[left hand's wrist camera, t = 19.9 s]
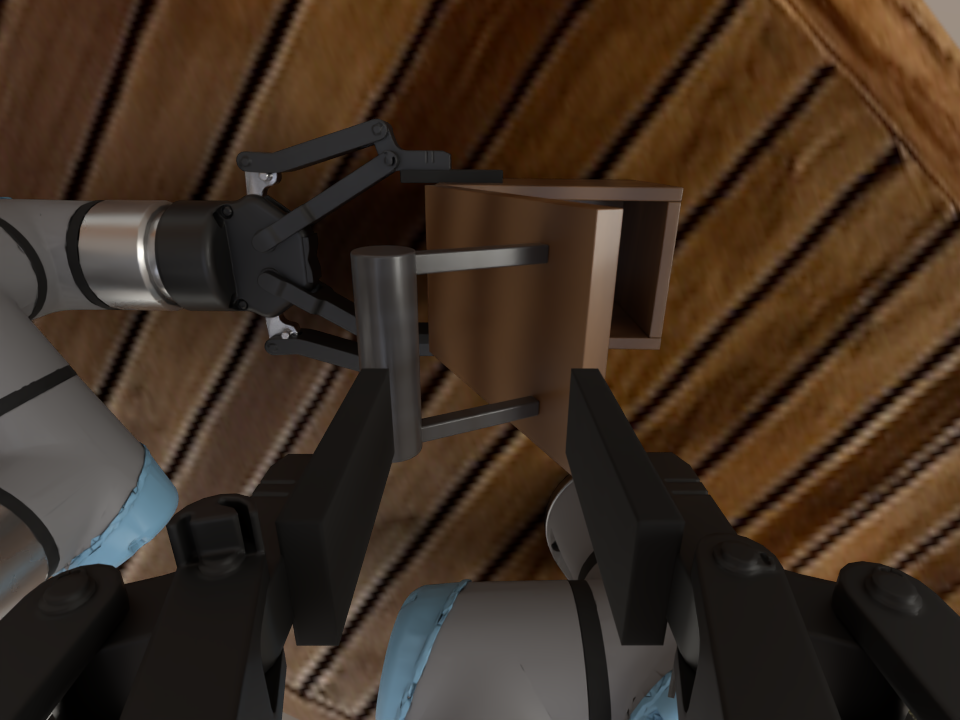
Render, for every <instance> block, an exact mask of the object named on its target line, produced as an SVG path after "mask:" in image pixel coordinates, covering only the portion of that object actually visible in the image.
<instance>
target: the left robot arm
mask: <svg viewBox="0 0 960 720" xmlns="http://www.w3.org/2000/svg"><path fill="white" fill-rule="evenodd" d="M394 453H395V450H394V436H393V421H392V407H391V392H390V378H389V368H362V369H361V371H360V372H359V374H358V376H357V378H356V379H355V381H354V383H353V385H352V387H351V388H350V390H349V392H348V394H347V395H346V397H345V399H344V401H343V402H342V404H341V406H340V408H339V409H338V411H337V413H336V415H335V417H334V418H333V420H332V422H331V424H330V425H329V427H328V429H327V431H326V432H325V434H324V436H323V438H322V439H321V441H320V443H319V445H318V447H317V448H316V450H315V452H314V454H288V455H286V456H285V457H284V458H282V459H281V460H279V461H278V462H276V463H275V464H274V465H272V466H271V467H270V468H269V470H268V471H267V473H266V474H265V476H264V477H263V479H262V480H261V484H259V485H258V486H257V487H256V489H255V490H254V492H253V495H252V496H250V497H248V496H244V495H240V494H219V495H215V496H211V497H207V498H203V499H201V500H199V501H196V502H194V503H192V504H190V505H187V506H186V507H185V508H183V509H182V510H180V511H179V512H178V513H176V514H175V515H174V516H173V517H172V519H171V520H170V521H169V522H168V524H167V525H166V528H167V531H168V535H169V539H170V542H171V546H172V550H173V553H174V557H175V561H176V565H177V570H176V572H173V573H170V574H166V575H163V576H159V577H154V578H150V579H145V580H141V581H136V582H132V583H128V584H124V582H123V579H122V576H121V573H120V571H119V570H117V569H116V568H115V567H114V566H113V565H106V564H100V563H98V564H91V565H83V566H79V567H76V568H73V569H70V570H67V571H64V572H61V573H59V574H57V575H55V576H54V577H52V578H50V579H48V580H46V581H44V582H42V583H41V584H39V585H38V586H37V587H36V588H34V589H33V590H32V591H31V592H29V593H28V594H27V595H25V596H24V597H23V598H22V599H21V600H20V601H19V602H18V603H17V604H16V605H15V606H14V607H13V608H12V609H11V610H10V611H9V612H8V613H7V614H6V615H5V616H4V617H3V618H2V619H1V620H0V720H46V719H47V718H48V716H49V715H50V714H51V712H52V713H53V714H52V715H51V716H50V718H49V719H48V720H282V711H283V700H284V689H285V678H286V667H287V666H286V659H285V653H284V648H283V646H284V644H285V641H286V639H287V636H288V634H289V631H290V629H291V626H292V624H293V628H294V634H295V639H296V645H297V646H339V642H340V639H341V635H342V632H343V629H344V625H345V622H346V618H347V615H348V611H349V608H350V605H351V601H352V598H353V594H354V591H355V587H356V584H357V580H358V577H359V574H360V570H361V567H362V563H363V560H364V556H365V553H366V550H367V546H368V543H369V539H370V536H371V532H372V529H373V526H374V522H375V519H376V515H377V512H378V508H379V505H380V502H381V498H382V495H383V491H384V488H385V484H386V481H387V477H388V474H389V471H390V467H391V464H392V460H393V457H394ZM565 453H566V457H567V460H568V464H569V467H570V471H571V474H572V476H571V475H570V474H569V475H568V476H567V477H566V478H564V479H563V481H562V482H561V483H560V484H559V485H558V486H557V488H556V489H555V490H554V492H553V494H552V495H551V497H550V499H549V502H548V504H547V507H546V512H545V532H546V538H547V542H548V546H549V548H550V551H551V553H552V556H553V558H554V560H555V561H556V563H557V564H558V566H559V567H560V569H561V570H562V572H563V573H564V575H565V576H566V577H567V579H568V580H537V581H493V582H472V581H471V580H469V579H465V580H462V581H461V582H457V583H445V584H433V585H425V586H422V587H420V588H418V589H416V590H415V591H413V592H412V593H411V594H410V595H409V596H408V598H407V599H406V600H405V602H404V604H403V605H402V607H401V610H400V612H399V614H398V616H397V619H396V621H395V624H394V627H393V630H392V633H391V637H390V641H389V644H388V648H387V652H386V656H385V661H384V666H383V670H382V675H381V681H380V687H379V693H378V700H377V708H376V720H914V719H913V717H912V716H911V715H910V713H909V712H908V711H909V710H910V711H911V713H912V714H913V715H914V717H915V718H916V719H917V720H960V617H959V616H958V615H957V614H956V613H955V612H954V611H953V610H952V609H951V608H950V607H949V606H948V605H947V604H946V603H945V602H944V601H943V600H942V599H941V598H940V597H939V596H938V595H937V594H936V593H935V592H933V591H932V590H931V589H929V588H928V587H927V586H926V585H924V584H923V583H922V582H920V581H919V580H917V579H915V578H913V577H911V576H909V575H908V574H906V573H904V572H902V571H900V570H897V569H894V568H892V567H889V566H885V565H882V564H878V563H871V562H864V561H860V562H854V563H848V564H847V565H846V566H844V567H843V568H842V569H841V570H840V573H839V576H838V579H837V582H833V581H829V580H824V579H820V578H815V577H811V576H806V575H802V574H798V573H794V572H791V571H787V570H784V569H783V567H782V565H781V564H780V562H779V561H778V559H777V558H776V556H775V555H774V554H773V553H771V552H770V551H769V550H768V549H766V548H765V547H764V546H763V545H761V544H759V543H757V542H755V541H753V540H751V539H749V538H747V537H743V536H739V535H737V533H736V532H735V530H734V529H733V528H732V526H731V525H730V523H729V522H728V520H727V519H726V517H725V516H724V514H723V513H722V512H721V510H720V509H719V507H718V506H717V504H716V503H715V501H714V500H713V498H712V497H711V496H710V495H708V491H707V490H706V488H705V487H704V485H703V484H702V482H700V481H699V480H700V479H699V478H698V477H697V475H696V474H695V472H694V471H693V469H692V468H691V466H690V465H689V464H687V463H686V462H685V461H683V460H682V459H680V458H679V457H678V456H676V455H675V454H673V453H672V452H645V450H644V448H643V447H642V445H641V443H640V441H639V439H638V438H637V436H636V434H635V432H634V431H633V429H632V427H631V425H630V424H629V422H628V420H627V418H626V417H625V415H624V413H623V411H622V409H621V408H620V406H619V404H618V402H617V401H616V399H615V397H614V395H613V394H612V392H611V390H610V388H609V387H608V385H607V383H606V381H605V379H604V378H603V376H602V374H601V372H600V371H599V369H598V368H571V378H570V392H569V407H568V421H567V436H566V450H565Z"/></svg>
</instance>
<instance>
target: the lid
mask: <svg viewBox="0 0 960 720" xmlns="http://www.w3.org/2000/svg"><path fill="white" fill-rule="evenodd" d="M425 210H426V248H427V250H422V251H415V250H414V249H412V248H409V247H404V246H392V245H380V246H367V247H360V248H357V249H354V250H352V251H351V253H350V255H351V268H352V280H353V293H354V305H355V318H356V330H357V343H358V355H359V368H360V371H361V369H362V368H389V378H390V392H391V407H392V421H393V436H394V450H395V453H394V457H393V460H392V463H393V462H401V461H405V460H408V459H411V458H413V457H414V456H416V455H417V454H418V453H419V452H420V451H421V448H422V442H426V441H430V440H434V439H439V438H443V437H447V436H452V435H456V434H460V433H464V432H469V431H473V430H477V429H481V428H486V427H490V426H494V425H498V424H503V423H507V422H511V423H512V424H513V425H514V426H515V427H516V428H518V429H519V430H520V431H521V432H522V433H523V434H524V435H526V436H527V437H528V438H529V439H530V440H531V441H532V442H534V443H535V444H536V445H537V446H538V447H539V448H541V449H542V450H543V451H544V452H545V453H546V454H547V455H549V456H550V457H551V458H552V459H553V460H554V461H555V462H557V463H558V464H559V465H560V466H561V467H562V468H563V469H565V470H566V471H567V472H568V473H569V474H570V475H571V476H572V474H571V471H570V467H569V464H568V460H567V457H566V453H565V450H566V436H567V421H568V407H569V392H570V378H571V368H598V369H599V371H600V372H601V374H602V376H603V378H604V379H605V374H606V365H607V356H608V347H609V337H610V328H611V319H612V310H613V301H614V292H615V283H616V273H617V264H618V255H619V246H620V237H621V228H622V219H623V208H618V207H610V206H603V205H595V204H587V203H579V202H572V201H564V200H556V199H548V198H541V197H533V196H525V195H517V194H510V193H502V192H494V191H486V190H478V189H471V188H463V187H455V186H447V185H425ZM420 274H427V287H428V325H429V352H430V353H431V354H433V355H434V356H435V357H436V358H437V359H438V360H440V361H441V362H442V363H443V364H444V365H445V366H446V367H448V368H449V369H450V370H451V371H452V372H453V373H454V374H456V375H457V376H458V377H459V378H460V379H461V380H462V381H464V382H465V383H466V384H467V385H468V386H469V387H470V388H472V389H473V390H474V391H475V392H476V393H477V394H479V395H480V396H481V397H482V398H483V399H484V400H485V401H487V402H488V403H489V405H484V406H479V407H475V408H470V409H465V410H461V411H456V412H451V413H447V414H442V415H437V416H433V417H428V418H423V419H421V390H420V361H419V331H418V301H417V275H420Z"/></svg>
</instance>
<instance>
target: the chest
mask: <svg viewBox="0 0 960 720" xmlns="http://www.w3.org/2000/svg"><path fill="white" fill-rule="evenodd" d="M436 185H447V186H455V187H463V188H471V189H478V190H486V191H494V192H502V193H510V194H517V195H525V196H533V197H541V198H548V199H556V200H564V201H572V202H579V203H587V204H595V205H603V206H610V207H618V208H623V219H622V228H621V237H620V246H619V255H618V264H617V273H616V283H615V292H614V301H613V310H612V319H611V328H610V337H609V347H608V349H660V343H661V335H662V328H663V322H664V315H665V308H666V301H667V295H668V288H669V281H670V274H671V268H672V261H673V254H674V247H675V241H676V234H677V227H678V220H679V214H680V207H681V202H680V201H681V200H682V194H683V188H682V187H676V186H670V185H663V184H656V183H649V182H643V181H636V180H595V179H514V178H503V183H452V182H439V183H437V184H436Z"/></svg>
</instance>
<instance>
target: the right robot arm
mask: <svg viewBox="0 0 960 720" xmlns="http://www.w3.org/2000/svg"><path fill="white" fill-rule="evenodd" d="M373 145H375V147H376V150H377V152H378V156H377V157H375V158H374V159H372V160H371V161H369V162H368V163H366V164H365V165H363V166H362V167H360V168H358V169H357V170H355V171H354V172H352V173H351V174H349V175H348V176H346V177H345V178H343V179H342V180H340V181H339V182H337V183H336V184H334V185H333V186H331V187H329V188H328V189H326V190H325V191H323V192H322V193H320V194H319V195H317V196H316V197H314V198H313V199H311V200H310V201H308V202H307V203H305V204H303V205H301V206H299V207H298V208H296V209H294V210H293V211H290V210H289V209H287V208H286V207H284V206H283V205H281V204H280V203H279V202H277V201H276V200H274V199H273V198H271V197H270V196H268V195H267V191H268V189H269V187H270V186H272V185H276V184H278V183H280V181H281V179H282V173H281V172H291V171H296V170H300V169H303V168H306V167H309V166H312V165H315V164H318V163H321V162H324V161H327V160H330V159H333V158H336V157H339V156H342V155H345V154H348V153H351V152H354V151H357V150H360V149H363V148H367V147H370V146H373ZM236 162H237V165H238V167H239V168H240V169H241V170H243V171H245V178H246V188H247V195H246V196H244V197H243V198H241V199H239V200H237V201H187V200H182V201H176V202H174V203H172V202H169V201H166V200H97V201H71V200H38V199H12V198H9V197H0V620H1V619H2V618H3V617H4V616H5V615H6V614H7V613H8V612H9V611H10V610H11V609H12V608H13V607H14V606H15V605H16V604H17V603H18V602H19V601H20V600H21V599H22V598H23V597H24V596H25V595H27V594H28V593H29V592H31V591H32V590H33V589H34V588H36V587H37V586H38V585H39V584H41V583H42V582H44V581H46V580H47V579H48V578H50V577H51V576H55V575H57V574H59V573H61V572H64V571H67V570H70V569H73V568H76V567H79V566H83V565H91V564H98V563H100V564H106V565H113V566H114V567H115V568H116V567H118V566H119V565H121V564H122V563H123V562H125V561H126V560H127V559H129V558H130V557H131V556H133V555H134V554H135V552H136V551H137V550H138V549H139V548H140V547H142V546H143V545H144V544H146V543H148V542H149V541H151V540H152V539H153V538H154V537H155V536H156V535H157V534H158V533H159V532H160V531H161V530H162V529H163V528H164V526H165V525H166V524H167V523H168V522H169V520H170V519H171V517H172V516H173V514H174V512H175V510H176V508H177V506H178V500H179V499H178V492H177V490H176V488H175V486H174V485H173V484H172V482H171V481H170V480H169V478H168V477H167V476H166V474H165V473H164V472H163V470H162V469H161V468H160V467H159V465H158V464H157V463H156V461H155V460H154V459H153V457H152V456H151V454H150V452H149V450H148V449H147V448H146V446H145V445H144V444H142V443H141V442H138V440H137V439H136V438H135V437H134V436H133V435H132V434H131V433H130V432H129V431H128V430H127V429H126V427H125V426H124V425H123V424H122V423H121V422H120V421H119V420H118V419H117V418H116V417H115V415H114V414H113V413H112V412H111V411H110V410H109V409H108V408H107V407H106V406H105V405H104V404H103V402H102V401H101V400H100V399H99V398H98V397H97V396H96V395H95V394H94V393H93V392H92V390H91V389H90V388H89V387H88V386H87V385H86V384H85V383H84V382H83V381H82V380H81V379H80V377H79V376H78V375H77V374H76V372H75V371H74V370H73V369H72V368H71V366H70V365H69V364H68V363H67V361H66V360H65V359H64V358H63V357H62V356H61V355H60V353H59V352H58V351H57V350H56V349H55V348H54V347H53V345H52V344H51V343H50V342H49V341H48V340H47V339H46V337H45V336H44V335H43V334H42V333H41V332H40V331H39V329H38V328H37V327H36V326H35V325H34V324H33V323H32V321H31V320H33V319H36V318H39V317H42V316H44V315H47V314H50V313H53V312H57V311H63V310H109V309H110V310H164V311H178V310H181V309H187V310H190V311H251V312H254V313H257V314H259V315H261V316H263V317H265V318H266V323H267V328H268V333H269V340H268V341H266V343H265V349H266V351H267V352H268V353H269V354H271V355H287V354H299V355H303V356H306V357H310V358H313V359H317V360H320V361H324V362H327V363H331V364H334V365H338V366H341V367H345V368H348V369H352V370H355V371H359V372H360V368H359V355H358V343H357V342H355V341H351V340H348V339H344V338H341V337H337V336H334V335H331V334H327V333H324V332H320V331H317V330H312V329H306V328H300V326H299V324H298V323H296V322H293V321H289V320H287V319H286V318H285V316H284V314H283V312H285V311H286V310H287V309H289V308H290V307H291V306H293V305H296V306H297V307H299V308H301V309H303V310H305V311H307V312H309V313H311V314H317V315H320V316H322V317H324V318H325V319H327V320H329V321H331V322H333V323H335V324H336V325H338V326H340V327H342V328H344V329H346V330H347V331H349V332H351V333H353V334H355V335H357V330H356V318H355V305H354V303H353V302H352V301H350V300H348V299H346V298H344V297H343V296H341V295H339V294H337V293H336V292H334V291H333V289H332V288H331V287H329V286H328V285H326V284H324V283H322V282H320V281H319V278H320V277H322V276H321V267H320V264H319V261H318V258H317V255H316V254H317V248H318V238H317V233H314V231H313V229H312V228H311V226H312V225H314V224H316V223H317V222H319V221H320V220H322V219H323V218H325V217H326V216H327V215H329V214H330V213H332V212H333V211H335V210H336V209H338V208H340V207H341V206H343V205H344V204H346V203H347V202H349V201H350V200H352V199H354V198H355V197H357V196H358V195H360V194H361V193H363V192H364V191H366V190H368V189H369V188H371V187H372V186H374V185H375V184H377V183H378V182H380V181H382V180H383V179H385V178H386V177H388V176H389V175H391V174H392V173H394V172H396V171H400V176H401V183H439V182H452V183H503V171H502V170H451V154H449V153H447V152H444V151H406V150H403V149H402V148H400V146H399V145H398V144H397V141H396V139H395V136H394V134H393V128H392V126H391V125H390V124H389V123H388V122H385V121H383V120H380V119H373V120H370V121H367V122H364V123H361V124H358V125H355V126H352V127H349V128H346V129H343V130H340V131H337V132H334V133H331V134H328V135H325V136H322V137H319V138H316V139H313V140H310V141H307V142H304V143H301V144H298V145H295V146H292V147H289V148H286V149H283V150H280V151H277V152H274V153H268V152H241V153H239V154H238V156H237V160H236ZM418 331H419V356H434V355H433V354H431V353H430V352H429V325H428V323H421V322H418Z"/></svg>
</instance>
